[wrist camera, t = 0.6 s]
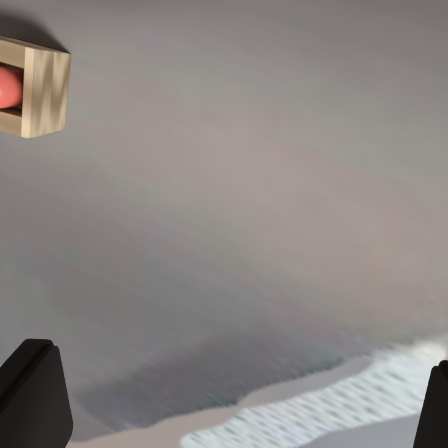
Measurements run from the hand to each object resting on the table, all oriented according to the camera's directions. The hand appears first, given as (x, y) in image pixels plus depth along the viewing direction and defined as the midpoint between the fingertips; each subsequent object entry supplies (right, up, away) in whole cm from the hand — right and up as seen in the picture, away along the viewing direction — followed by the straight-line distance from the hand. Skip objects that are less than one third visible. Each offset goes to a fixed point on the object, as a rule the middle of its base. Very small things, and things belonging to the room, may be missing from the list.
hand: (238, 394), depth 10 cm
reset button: (-21, +18, +27) cm, 38 cm away
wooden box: (-20, +19, +32) cm, 42 cm away
